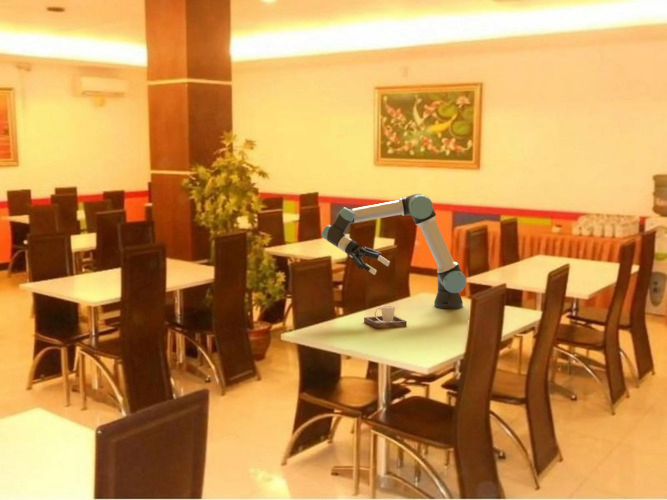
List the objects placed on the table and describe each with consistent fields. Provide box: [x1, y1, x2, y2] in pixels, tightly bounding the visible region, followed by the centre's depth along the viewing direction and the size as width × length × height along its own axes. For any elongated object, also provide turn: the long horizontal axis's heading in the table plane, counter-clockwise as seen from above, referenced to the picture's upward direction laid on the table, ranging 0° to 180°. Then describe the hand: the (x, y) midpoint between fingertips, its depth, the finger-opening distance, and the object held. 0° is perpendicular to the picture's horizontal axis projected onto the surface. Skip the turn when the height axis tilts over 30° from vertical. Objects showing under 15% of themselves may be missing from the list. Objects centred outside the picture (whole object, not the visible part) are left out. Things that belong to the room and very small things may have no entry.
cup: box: [374, 304, 396, 323], centre depth 343 cm, size 7×10×8 cm
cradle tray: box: [363, 315, 407, 330], centre depth 343 cm, size 15×15×2 cm
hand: (382, 268), depth 354 cm, fingers open, 13 cm apart
